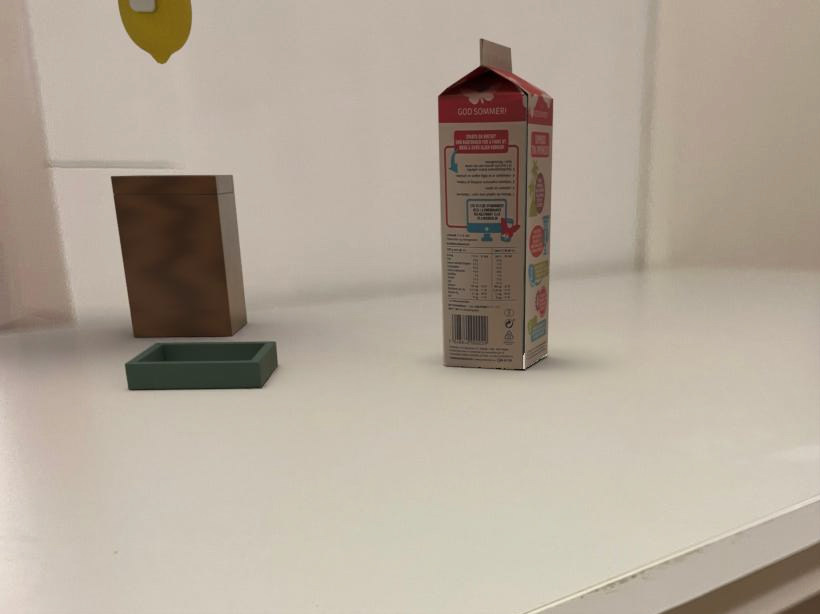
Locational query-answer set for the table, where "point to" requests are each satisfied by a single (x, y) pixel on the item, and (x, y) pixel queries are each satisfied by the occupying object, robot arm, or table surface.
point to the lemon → (159, 27)
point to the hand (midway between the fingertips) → (155, 18)
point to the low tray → (202, 365)
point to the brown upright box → (180, 254)
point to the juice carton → (495, 215)
